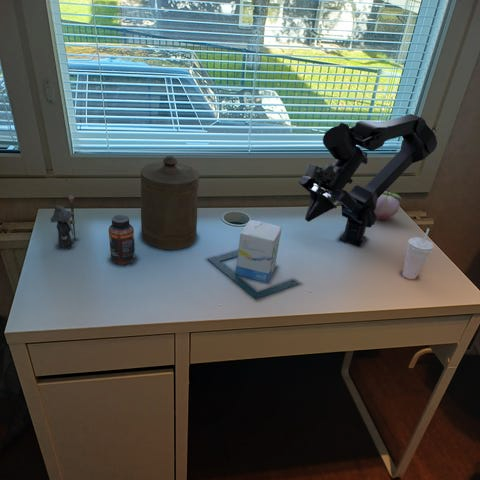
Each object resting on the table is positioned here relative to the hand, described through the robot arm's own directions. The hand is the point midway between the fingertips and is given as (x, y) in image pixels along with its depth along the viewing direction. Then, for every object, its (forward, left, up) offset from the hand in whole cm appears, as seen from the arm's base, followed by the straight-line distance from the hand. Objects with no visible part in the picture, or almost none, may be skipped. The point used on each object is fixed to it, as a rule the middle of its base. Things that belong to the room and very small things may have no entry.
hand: (306, 220), depth 122 cm
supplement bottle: (+30, -36, -11) cm, 48 cm away
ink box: (+14, -6, -11) cm, 19 cm away
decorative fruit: (-39, +12, -11) cm, 43 cm away
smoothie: (-9, +28, -11) cm, 32 cm away
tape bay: (+15, -7, -11) cm, 20 cm away
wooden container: (+13, -34, -11) cm, 38 cm away
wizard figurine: (+32, -52, -11) cm, 62 cm away
